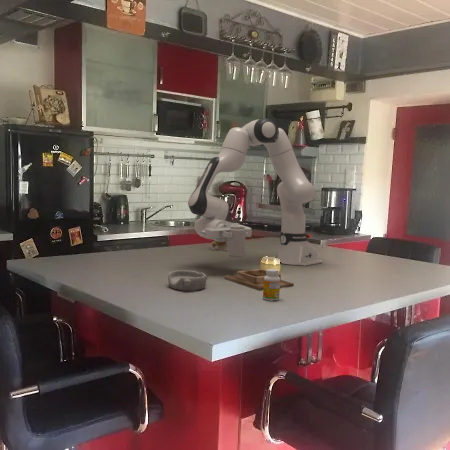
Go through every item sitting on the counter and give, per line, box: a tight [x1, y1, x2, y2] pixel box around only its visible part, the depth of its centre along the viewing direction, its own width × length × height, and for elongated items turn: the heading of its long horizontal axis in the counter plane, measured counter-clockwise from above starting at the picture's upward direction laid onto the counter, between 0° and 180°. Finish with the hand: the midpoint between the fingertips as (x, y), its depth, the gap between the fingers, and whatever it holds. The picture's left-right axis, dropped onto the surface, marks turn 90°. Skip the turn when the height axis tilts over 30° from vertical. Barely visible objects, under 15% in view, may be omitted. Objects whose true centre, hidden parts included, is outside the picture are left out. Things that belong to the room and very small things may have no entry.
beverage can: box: [228, 225, 246, 258], centre depth 201 cm, size 6×6×12 cm
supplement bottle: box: [262, 268, 281, 301], centre depth 168 cm, size 5×5×10 cm
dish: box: [167, 269, 208, 292], centre depth 181 cm, size 14×14×5 cm
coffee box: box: [211, 219, 231, 252], centre depth 270 cm, size 9×6×16 cm
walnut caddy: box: [223, 269, 295, 291], centre depth 193 cm, size 16×22×4 cm
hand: (239, 235), depth 200 cm, fingers closed on beverage can, 5 cm apart
